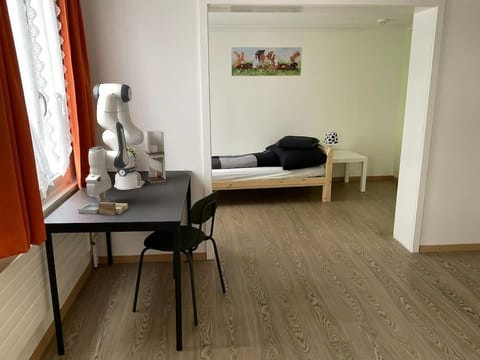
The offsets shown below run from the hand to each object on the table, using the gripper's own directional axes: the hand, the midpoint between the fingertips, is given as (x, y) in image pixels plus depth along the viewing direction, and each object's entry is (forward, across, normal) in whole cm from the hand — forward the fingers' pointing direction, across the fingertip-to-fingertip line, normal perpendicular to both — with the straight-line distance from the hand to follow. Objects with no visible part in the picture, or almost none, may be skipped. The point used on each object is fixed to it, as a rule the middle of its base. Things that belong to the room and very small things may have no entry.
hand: (101, 199), depth 211 cm
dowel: (+3, 0, 0) cm, 3 cm away
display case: (+3, -60, +10) cm, 61 cm away
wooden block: (+3, +14, +11) cm, 18 cm away
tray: (+3, +10, 0) cm, 10 cm away
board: (+4, +8, +11) cm, 14 cm away
